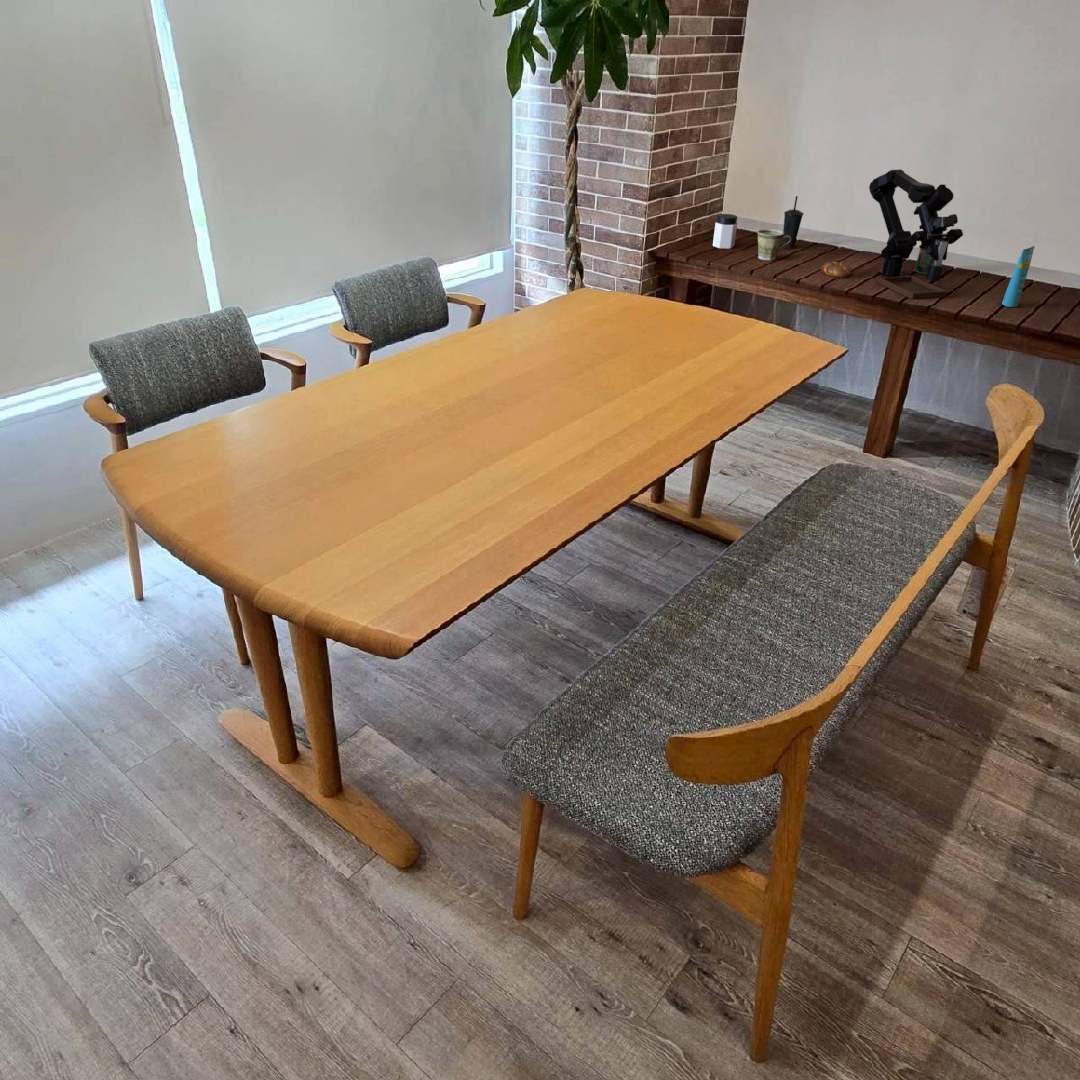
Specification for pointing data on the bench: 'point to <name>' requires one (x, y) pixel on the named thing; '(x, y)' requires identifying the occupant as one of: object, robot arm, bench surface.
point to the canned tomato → (923, 261)
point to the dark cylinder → (937, 263)
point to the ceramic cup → (769, 243)
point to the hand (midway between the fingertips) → (941, 259)
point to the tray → (912, 287)
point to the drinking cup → (791, 226)
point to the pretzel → (836, 269)
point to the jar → (725, 231)
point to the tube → (1018, 278)
